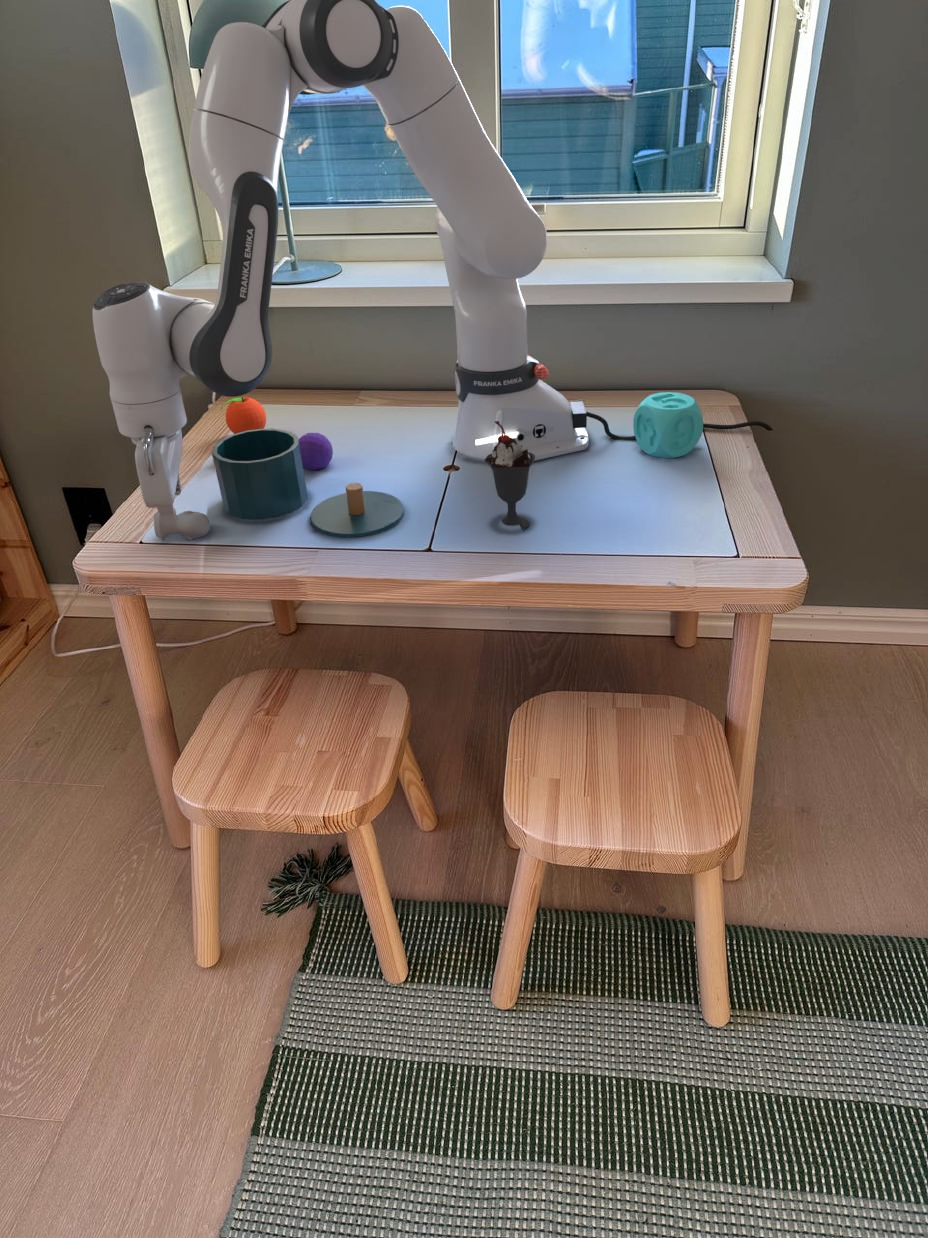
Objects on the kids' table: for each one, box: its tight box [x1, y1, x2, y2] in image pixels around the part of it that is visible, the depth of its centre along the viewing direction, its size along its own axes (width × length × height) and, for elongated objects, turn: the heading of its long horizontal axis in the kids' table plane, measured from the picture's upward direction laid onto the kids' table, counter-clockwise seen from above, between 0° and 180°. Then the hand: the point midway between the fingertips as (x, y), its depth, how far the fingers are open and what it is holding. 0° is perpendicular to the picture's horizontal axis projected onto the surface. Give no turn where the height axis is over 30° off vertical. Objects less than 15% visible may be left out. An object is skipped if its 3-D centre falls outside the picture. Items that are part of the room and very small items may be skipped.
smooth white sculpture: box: [153, 510, 211, 541], centre depth 130 cm, size 4×8×5 cm
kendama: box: [298, 432, 334, 471], centre depth 149 cm, size 6×6×20 cm
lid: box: [310, 482, 405, 539], centre depth 132 cm, size 13×13×5 cm
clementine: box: [220, 396, 267, 434], centre depth 159 cm, size 8×7×7 cm
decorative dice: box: [632, 391, 704, 459], centre depth 146 cm, size 8×8×8 cm
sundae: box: [484, 421, 535, 531], centre depth 125 cm, size 7×7×15 cm
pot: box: [211, 428, 308, 521], centre depth 136 cm, size 12×12×10 cm
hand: (173, 507), depth 129 cm, fingers open, 8 cm apart
